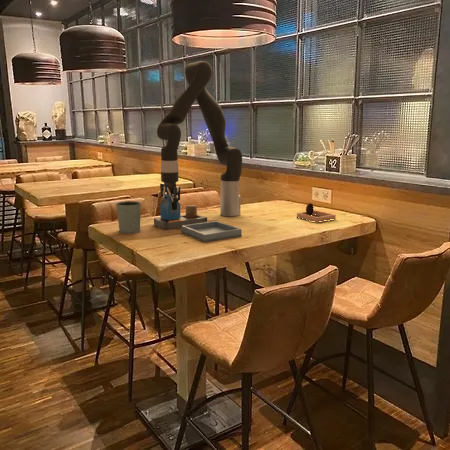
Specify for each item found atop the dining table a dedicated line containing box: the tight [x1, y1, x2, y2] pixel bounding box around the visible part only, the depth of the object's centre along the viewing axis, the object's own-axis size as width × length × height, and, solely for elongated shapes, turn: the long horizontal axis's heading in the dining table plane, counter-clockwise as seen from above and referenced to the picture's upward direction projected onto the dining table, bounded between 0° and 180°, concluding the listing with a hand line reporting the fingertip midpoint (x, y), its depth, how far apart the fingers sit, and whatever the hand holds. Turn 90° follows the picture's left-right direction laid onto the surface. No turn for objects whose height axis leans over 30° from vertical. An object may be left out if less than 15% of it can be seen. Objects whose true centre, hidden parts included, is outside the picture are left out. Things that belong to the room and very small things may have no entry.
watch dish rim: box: [296, 209, 337, 222], centre depth 224 cm, size 13×13×2 cm
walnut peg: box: [185, 204, 198, 219], centre depth 210 cm, size 5×5×8 cm
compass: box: [305, 202, 321, 217], centre depth 225 cm, size 8×8×7 cm
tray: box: [180, 220, 243, 243], centre depth 191 cm, size 18×18×3 cm
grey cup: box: [115, 200, 142, 235], centre depth 193 cm, size 10×10×12 cm
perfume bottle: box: [159, 191, 181, 220], centre depth 203 cm, size 6×6×12 cm
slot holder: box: [153, 213, 208, 231], centre depth 207 cm, size 22×10×3 cm, turn 126°
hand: (170, 208), depth 203 cm, fingers closed on perfume bottle, 6 cm apart
